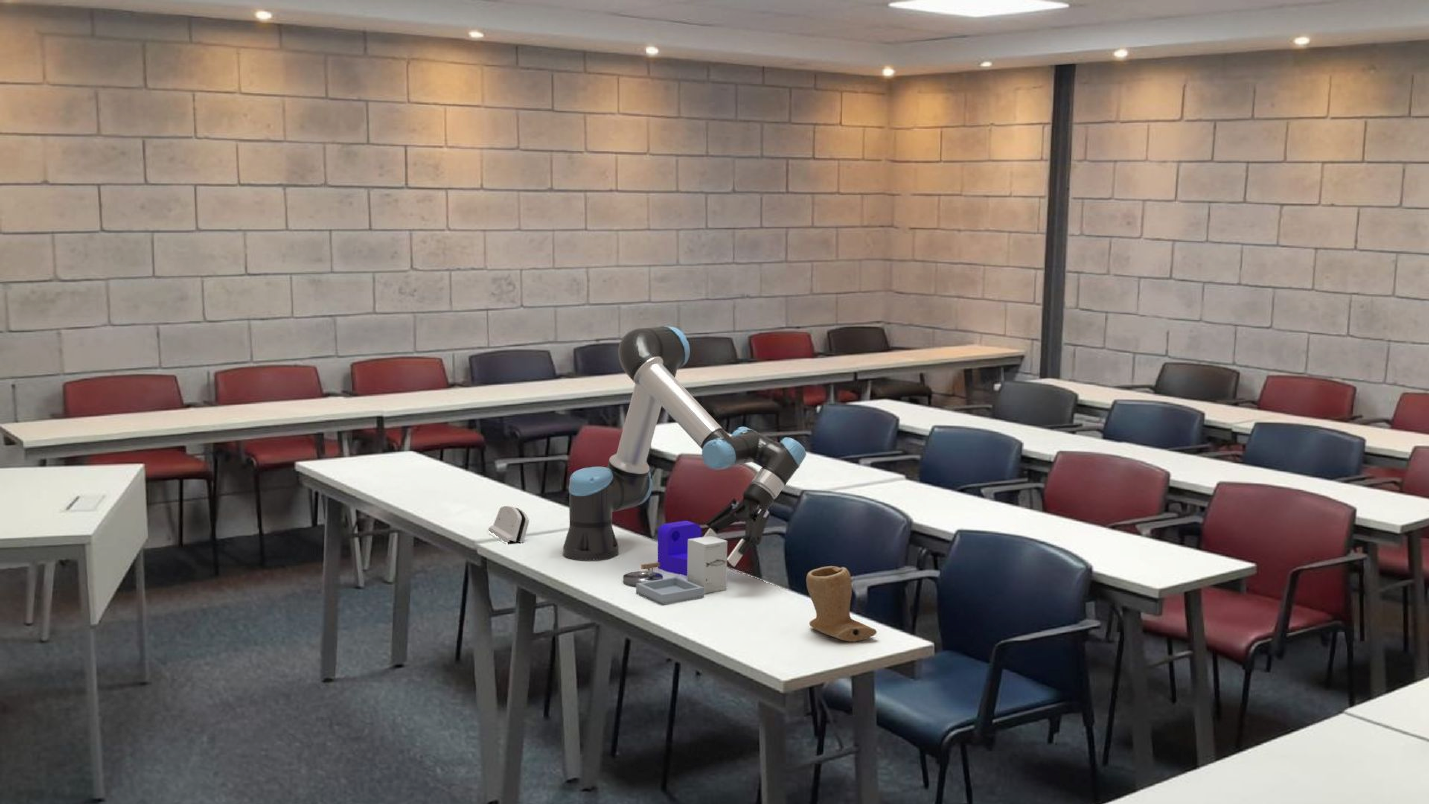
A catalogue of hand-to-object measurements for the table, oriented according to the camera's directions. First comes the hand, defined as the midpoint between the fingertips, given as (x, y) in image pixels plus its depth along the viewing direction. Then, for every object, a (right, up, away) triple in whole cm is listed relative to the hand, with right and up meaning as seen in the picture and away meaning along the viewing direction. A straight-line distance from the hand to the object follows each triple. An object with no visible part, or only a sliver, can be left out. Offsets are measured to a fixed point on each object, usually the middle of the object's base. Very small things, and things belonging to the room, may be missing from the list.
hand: (714, 557), depth 320 cm
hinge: (-59, -1, +53) cm, 79 cm away
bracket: (-5, -6, +17) cm, 19 cm away
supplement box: (-2, -8, +1) cm, 8 cm away
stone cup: (+27, -13, -35) cm, 46 cm away
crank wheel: (-18, -7, +7) cm, 20 cm away
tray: (-11, -9, -5) cm, 15 cm away
